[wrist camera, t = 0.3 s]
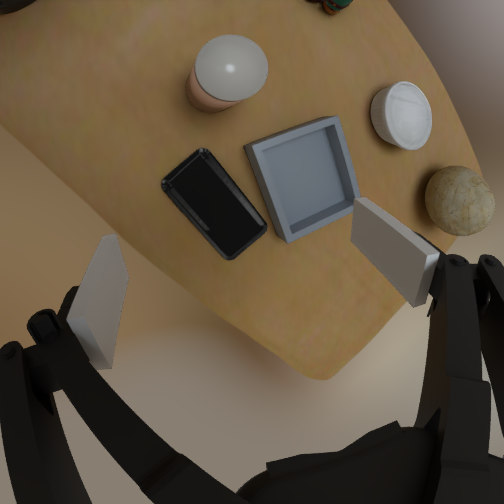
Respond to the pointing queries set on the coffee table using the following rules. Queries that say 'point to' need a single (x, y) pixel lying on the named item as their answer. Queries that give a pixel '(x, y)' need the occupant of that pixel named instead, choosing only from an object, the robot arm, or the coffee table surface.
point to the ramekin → (402, 115)
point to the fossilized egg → (459, 201)
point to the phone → (214, 204)
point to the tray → (305, 176)
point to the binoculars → (334, 5)
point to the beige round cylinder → (226, 73)
